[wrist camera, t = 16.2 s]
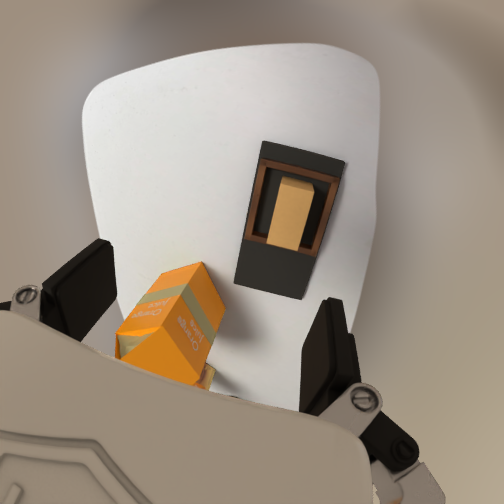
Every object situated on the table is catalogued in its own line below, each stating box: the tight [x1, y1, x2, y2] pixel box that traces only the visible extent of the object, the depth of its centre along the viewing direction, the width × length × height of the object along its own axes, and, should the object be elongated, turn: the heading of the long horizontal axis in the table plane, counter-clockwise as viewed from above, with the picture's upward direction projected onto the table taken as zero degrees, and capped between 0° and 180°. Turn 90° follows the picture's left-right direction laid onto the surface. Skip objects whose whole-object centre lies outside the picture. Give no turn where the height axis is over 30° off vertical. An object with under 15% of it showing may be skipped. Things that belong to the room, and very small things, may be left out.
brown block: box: [266, 176, 314, 251], centre depth 32 cm, size 4×7×4 cm, turn 169°
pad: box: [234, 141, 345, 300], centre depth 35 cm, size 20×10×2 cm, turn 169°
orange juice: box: [115, 262, 226, 386], centre depth 34 cm, size 8×9×20 cm
